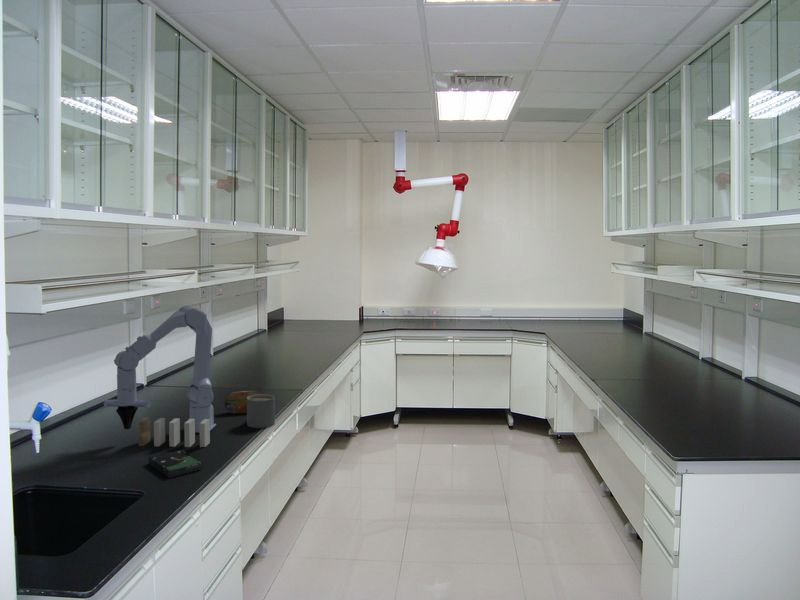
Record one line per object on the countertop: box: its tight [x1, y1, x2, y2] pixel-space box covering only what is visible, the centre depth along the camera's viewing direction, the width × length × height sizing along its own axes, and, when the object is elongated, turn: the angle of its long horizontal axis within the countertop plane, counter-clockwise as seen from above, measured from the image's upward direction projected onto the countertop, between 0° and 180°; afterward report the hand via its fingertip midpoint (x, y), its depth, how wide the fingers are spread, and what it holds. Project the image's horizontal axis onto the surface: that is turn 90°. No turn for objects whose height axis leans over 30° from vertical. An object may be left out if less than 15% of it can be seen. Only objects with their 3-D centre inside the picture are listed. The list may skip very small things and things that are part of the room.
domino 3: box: [183, 418, 196, 448], centre depth 201 cm, size 2×5×8 cm, turn 179°
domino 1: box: [153, 417, 166, 447], centre depth 201 cm, size 2×5×8 cm, turn 179°
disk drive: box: [148, 449, 203, 479], centre depth 182 cm, size 10×3×15 cm
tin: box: [223, 390, 262, 415], centre depth 241 cm, size 15×3×8 cm, turn 111°
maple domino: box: [137, 417, 151, 447], centre depth 201 cm, size 2×5×8 cm, turn 0°
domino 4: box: [199, 419, 211, 448], centre depth 201 cm, size 2×5×8 cm, turn 179°
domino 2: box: [168, 417, 181, 448], centre depth 201 cm, size 2×5×8 cm, turn 179°
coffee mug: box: [246, 393, 276, 429], centre depth 227 cm, size 13×10×10 cm
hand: (127, 428), depth 201 cm, fingers closed
